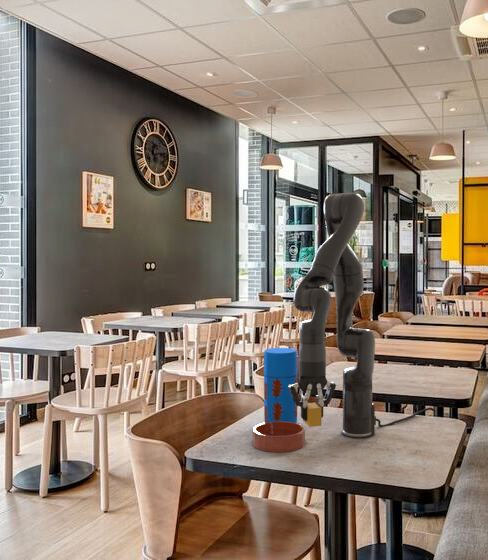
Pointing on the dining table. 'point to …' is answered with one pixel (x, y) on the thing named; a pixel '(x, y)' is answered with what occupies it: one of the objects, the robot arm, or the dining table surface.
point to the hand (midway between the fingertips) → (312, 419)
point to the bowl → (279, 436)
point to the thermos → (279, 384)
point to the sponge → (313, 415)
